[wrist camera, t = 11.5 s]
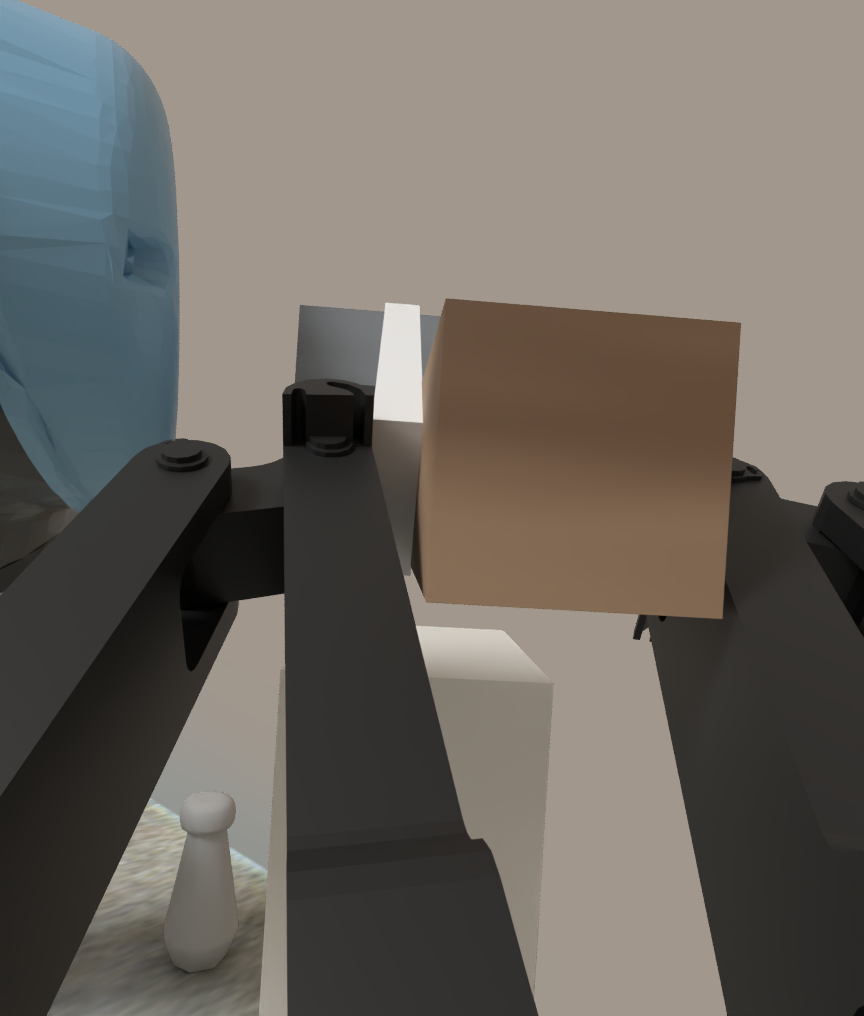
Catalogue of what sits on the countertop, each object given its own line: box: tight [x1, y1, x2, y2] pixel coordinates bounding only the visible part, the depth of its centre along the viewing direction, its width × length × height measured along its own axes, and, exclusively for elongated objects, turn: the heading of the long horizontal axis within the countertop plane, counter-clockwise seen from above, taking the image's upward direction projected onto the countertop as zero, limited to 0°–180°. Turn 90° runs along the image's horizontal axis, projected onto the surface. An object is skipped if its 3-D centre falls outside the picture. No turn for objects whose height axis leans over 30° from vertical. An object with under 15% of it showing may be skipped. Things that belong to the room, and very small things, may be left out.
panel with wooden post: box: [295, 299, 741, 619], centre depth 16 cm, size 18×9×6 cm, turn 4°
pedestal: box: [259, 626, 553, 1016], centre depth 39 cm, size 14×12×30 cm
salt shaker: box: [163, 791, 239, 973], centre depth 60 cm, size 6×6×13 cm
